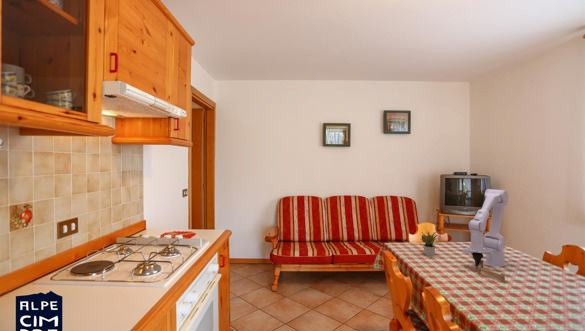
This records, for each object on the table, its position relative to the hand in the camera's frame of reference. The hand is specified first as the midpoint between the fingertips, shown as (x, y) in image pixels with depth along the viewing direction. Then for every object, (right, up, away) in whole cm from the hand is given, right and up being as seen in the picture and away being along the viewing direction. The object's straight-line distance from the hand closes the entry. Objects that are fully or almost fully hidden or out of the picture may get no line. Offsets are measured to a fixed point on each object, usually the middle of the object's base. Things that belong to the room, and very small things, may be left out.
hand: (477, 266), depth 152 cm
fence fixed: (-1, -2, -12) cm, 13 cm away
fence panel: (+1, -1, -2) cm, 2 cm away
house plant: (-13, -2, +25) cm, 28 cm away
